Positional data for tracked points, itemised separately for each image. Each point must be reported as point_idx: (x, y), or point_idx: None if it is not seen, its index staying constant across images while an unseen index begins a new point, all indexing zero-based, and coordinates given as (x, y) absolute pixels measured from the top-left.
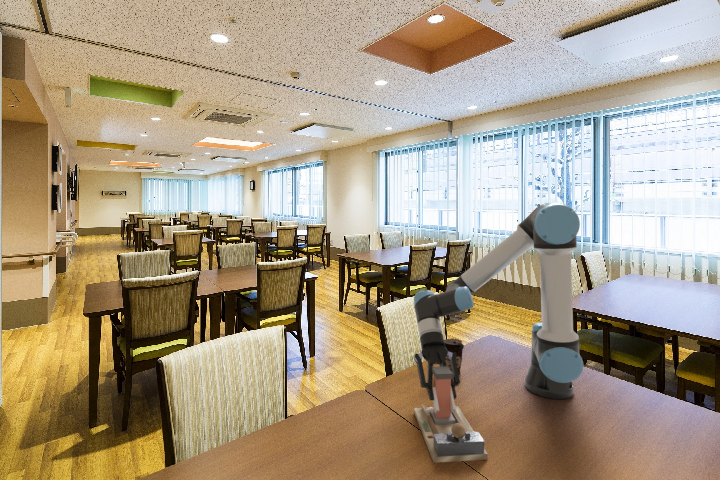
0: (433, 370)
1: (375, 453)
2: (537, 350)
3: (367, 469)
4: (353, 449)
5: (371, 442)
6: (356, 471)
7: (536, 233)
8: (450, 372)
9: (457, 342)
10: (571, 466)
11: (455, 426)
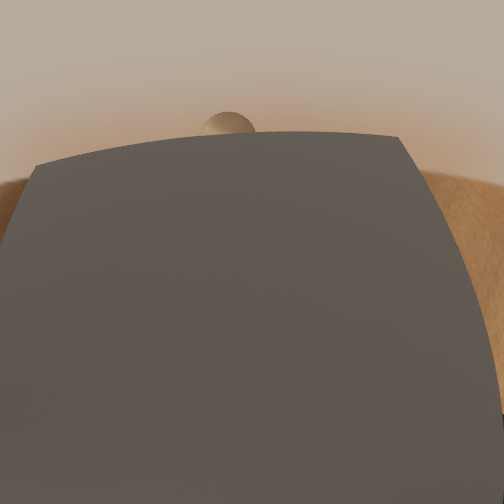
0: (475, 400)
1: (458, 226)
2: None
3: (452, 183)
4: (499, 241)
5: (480, 267)
6: (465, 181)
7: None
8: (42, 200)
9: None
10: (13, 193)
11: (242, 116)
